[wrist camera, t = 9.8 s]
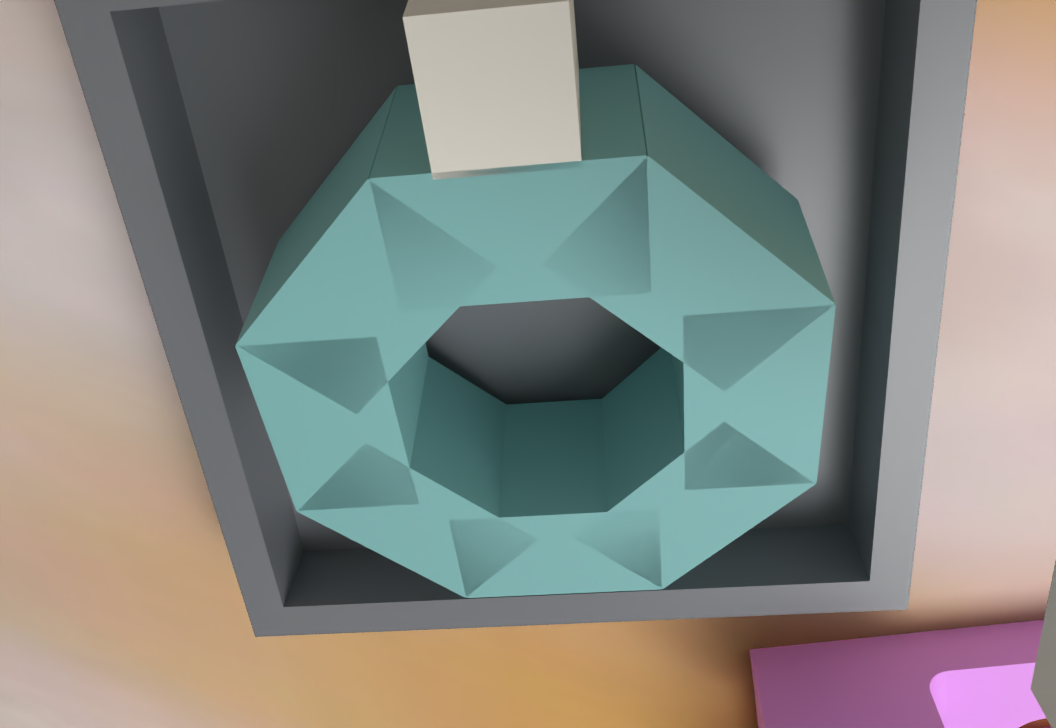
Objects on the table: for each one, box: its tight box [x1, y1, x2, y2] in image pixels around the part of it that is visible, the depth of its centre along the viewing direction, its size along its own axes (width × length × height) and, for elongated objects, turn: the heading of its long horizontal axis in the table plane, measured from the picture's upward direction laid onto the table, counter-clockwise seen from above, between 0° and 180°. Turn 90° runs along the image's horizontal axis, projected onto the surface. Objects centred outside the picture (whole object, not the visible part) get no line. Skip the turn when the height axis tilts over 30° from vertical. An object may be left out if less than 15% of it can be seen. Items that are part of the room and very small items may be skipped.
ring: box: [235, 0, 836, 598], centre depth 17 cm, size 9×11×3 cm
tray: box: [54, 0, 977, 637], centre depth 18 cm, size 14×14×2 cm
